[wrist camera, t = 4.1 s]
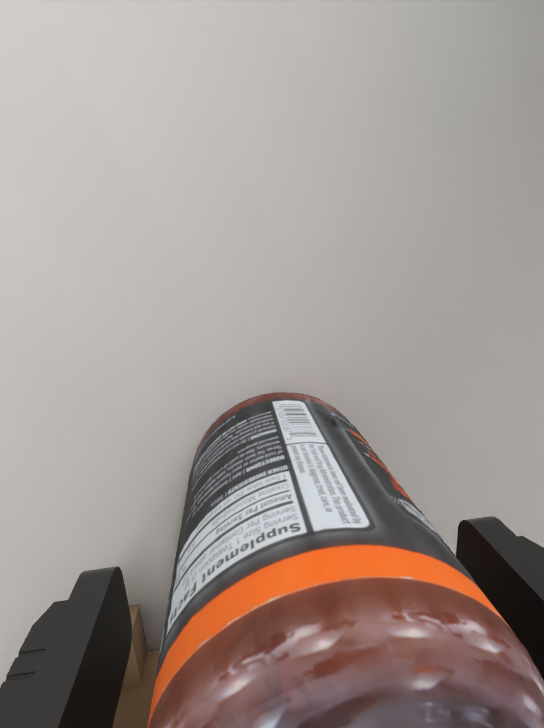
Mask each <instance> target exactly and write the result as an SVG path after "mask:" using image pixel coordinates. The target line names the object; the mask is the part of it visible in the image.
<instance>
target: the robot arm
mask: <svg viewBox="0 0 544 728" xmlns="http://www.w3.org/2000/svg"><path fill="white" fill-rule="evenodd" d="M456 558H457V559H458V560H459V562H460V563H461V564H462V565H463V566H464V567H465V569H466V570H467V571H468V572H469V574H470V575H471V577H472V578H473V580H474V581H475V583H476V584H477V585H478V587H479V588H480V589H481V591H482V592H483V593H484V595H485V596H486V597H487V599H488V600H489V601H490V602H491V604H492V605H493V606H494V608H495V609H496V610H497V611H498V613H499V614H500V615H501V616H502V618H503V619H504V620H505V622H506V623H507V624H508V625H509V627H510V628H511V629H512V631H513V632H514V634H515V635H516V636H517V638H518V639H519V641H520V642H521V644H522V645H523V646H524V647H525V648H526V649H527V651H528V653H529V655H530V657H531V659H532V661H533V663H534V664H535V666H536V667H537V669H538V671H539V672H540V674H541V677H542V679H543V681H544V548H543V547H541V546H539V545H537V544H536V543H534V542H532V541H530V540H529V539H527V538H525V537H523V536H519V537H517V536H516V535H515V534H514V533H513V532H512V531H511V530H510V529H509V528H507V527H506V526H505V525H504V524H503V523H502V522H501V521H500V520H499V519H497V518H496V517H483V518H476V519H469V520H463V521H461V522H460V524H459V526H458V537H457V550H456ZM131 641H132V622H131V616H130V611H129V606H128V601H127V596H126V591H125V585H124V580H123V575H122V571H121V569H120V568H119V567H112V568H104V569H97V570H90V571H84V572H82V573H81V574H80V576H79V578H78V580H77V582H76V584H75V586H74V589H73V591H72V593H71V595H70V597H69V600H65V601H58V602H54V603H53V604H52V605H51V606H50V607H49V609H48V610H47V611H46V612H45V613H44V614H43V615H42V616H41V617H40V618H39V619H38V620H37V621H36V623H35V624H34V625H33V626H32V628H31V630H30V632H29V634H28V636H27V637H26V639H25V641H24V643H23V645H22V647H21V649H20V651H19V656H18V658H16V659H15V660H14V662H13V664H12V666H11V668H10V670H9V672H8V674H7V678H6V681H5V682H3V683H2V685H1V687H0V728H112V726H113V722H114V718H115V714H116V710H117V705H118V701H119V697H120V693H121V689H122V684H123V680H124V676H125V672H126V667H127V663H128V659H129V655H130V650H131Z"/></svg>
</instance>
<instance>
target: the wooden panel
mask: <svg viewBox="0 0 544 728" xmlns="http://www.w3.org/2000/svg"><path fill="white" fill-rule="evenodd" d="M129 611H130V616H131V622H132V641H131V650H130V655H129V659H128V663H127V667H126V672H125V676H124V680H123V684H122V689H121V693H120V697H119V701H118V705H117V710H116V714H115V718H114V722H113V726H112V728H147V727H148V721H149V715H150V708H151V703H152V697H153V692H154V687H155V682H156V672H157V661H158V657H159V653H160V649H156V650H149V651H148V650H147V645H146V640H145V635H144V630H143V625H142V620H141V615H140V609H139V605H137V606H130V607H129Z"/></svg>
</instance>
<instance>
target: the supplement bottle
mask: <svg viewBox="0 0 544 728" xmlns="http://www.w3.org/2000/svg"><path fill="white" fill-rule="evenodd" d="M147 728H544V681H543V679H542V677H541V674H540V672H539V671H538V669H537V667H536V666H535V664H534V663H533V661H532V659H531V657H530V655H529V653H528V651H527V649H526V648H525V647H524V646H523V645H522V644H521V642H520V641H519V639H518V638H517V636H516V635H515V634H514V632H513V631H512V629H511V628H510V627H509V625H508V624H507V623H506V622H505V620H504V619H503V618H502V616H501V615H500V614H499V613H498V611H497V610H496V609H495V608H494V606H493V605H492V604H491V602H490V601H489V600H488V599H487V597H486V596H485V595H484V593H483V592H482V591H481V589H480V588H479V587H478V585H477V584H476V583H475V581H474V580H473V578H472V577H471V575H470V574H469V572H468V571H467V570H466V569H465V567H464V566H463V565H462V564H461V563H460V562H459V560H458V559H457V558H456V556H455V555H454V554H453V552H452V551H451V550H450V548H449V547H448V546H447V545H446V544H445V542H444V541H443V539H442V538H441V537H440V535H439V534H438V533H437V532H436V530H435V529H434V528H433V526H432V525H431V524H430V522H429V521H428V520H427V519H426V518H425V516H424V515H423V513H422V512H421V511H420V510H419V509H418V508H417V507H416V506H415V504H414V503H413V502H412V501H411V499H410V498H409V497H408V495H407V494H406V493H405V492H404V490H403V489H402V487H401V486H400V485H399V484H398V482H397V481H396V480H395V479H394V477H393V476H392V475H391V473H390V472H389V471H388V470H387V468H386V467H385V465H384V464H383V462H382V461H381V460H380V459H379V457H378V456H377V455H376V453H374V451H373V450H372V449H371V447H370V446H369V445H368V443H367V441H366V440H365V439H364V438H363V436H362V435H361V434H360V433H359V431H358V430H357V429H356V428H355V427H354V426H353V425H352V424H351V423H350V422H349V421H348V420H347V419H346V418H345V417H344V416H343V415H342V414H341V413H340V412H339V411H337V410H336V409H335V408H333V407H332V406H330V405H328V404H327V403H325V402H323V401H321V400H320V399H318V398H315V397H311V396H308V395H304V394H297V393H271V394H264V395H259V396H257V397H254V398H250V399H248V400H246V401H244V402H241V403H240V404H238V405H236V406H234V407H233V408H231V409H230V410H228V411H227V412H225V413H224V414H223V415H222V416H220V417H219V418H218V419H217V421H216V422H215V423H214V424H213V425H212V426H211V427H210V428H209V430H208V431H207V432H206V434H205V435H204V437H203V439H202V440H201V442H200V444H199V446H198V448H197V451H196V455H195V458H194V461H193V465H192V469H191V473H190V477H189V483H188V490H187V495H186V501H185V506H184V512H183V517H182V525H181V530H180V536H179V542H178V548H177V553H176V559H175V564H174V570H173V576H172V583H171V589H170V594H169V600H168V606H167V611H166V618H165V624H164V630H163V636H162V641H161V647H160V653H159V657H158V661H157V672H156V682H155V687H154V692H153V697H152V703H151V708H150V715H149V721H148V727H147Z"/></svg>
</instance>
